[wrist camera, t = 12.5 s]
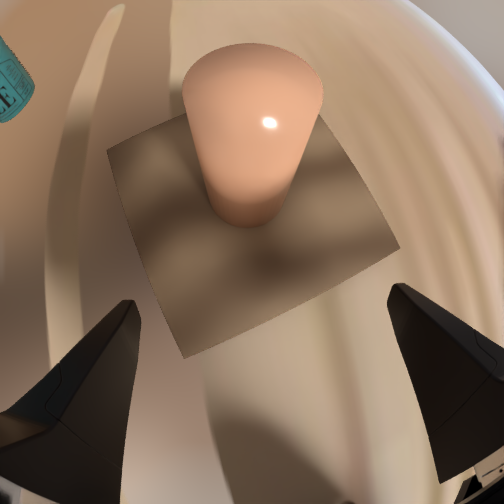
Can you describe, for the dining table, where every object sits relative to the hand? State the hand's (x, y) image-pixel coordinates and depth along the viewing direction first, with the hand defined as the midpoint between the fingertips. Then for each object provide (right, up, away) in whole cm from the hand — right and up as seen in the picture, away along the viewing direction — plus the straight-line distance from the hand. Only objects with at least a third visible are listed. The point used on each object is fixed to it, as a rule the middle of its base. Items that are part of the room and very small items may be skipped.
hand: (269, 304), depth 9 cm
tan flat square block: (-1, +5, +11) cm, 12 cm away
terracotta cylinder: (-1, +6, +9) cm, 11 cm away
